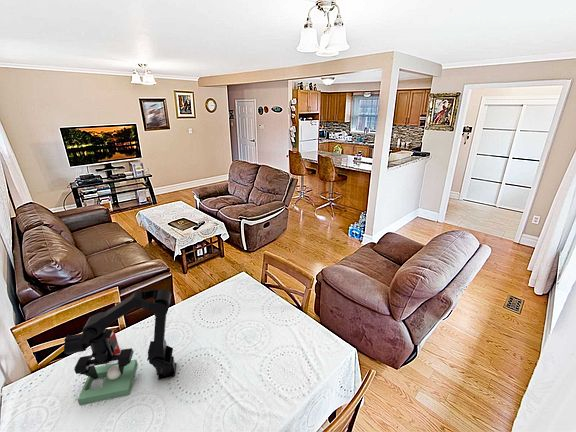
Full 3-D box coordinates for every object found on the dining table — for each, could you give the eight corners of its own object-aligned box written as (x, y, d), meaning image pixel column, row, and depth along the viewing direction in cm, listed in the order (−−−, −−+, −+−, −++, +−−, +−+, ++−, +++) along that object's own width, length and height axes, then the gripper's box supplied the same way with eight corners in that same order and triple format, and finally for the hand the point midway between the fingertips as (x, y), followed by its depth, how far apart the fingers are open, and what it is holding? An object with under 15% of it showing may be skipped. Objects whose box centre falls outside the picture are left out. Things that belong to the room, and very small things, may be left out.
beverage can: (113, 362, 123) (106, 341, 119) (101, 359, 124) (94, 339, 120) (123, 350, 129) (117, 330, 124) (112, 348, 130) (105, 328, 126)
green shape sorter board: (137, 364, 122) (136, 359, 121) (129, 394, 110) (127, 389, 109) (93, 373, 118) (91, 367, 117) (79, 405, 106) (77, 399, 105)
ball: (126, 366, 116) (116, 360, 114) (122, 376, 111) (112, 371, 109) (116, 373, 116) (106, 367, 114) (112, 384, 112) (102, 378, 109)
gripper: (132, 326, 116) (139, 354, 122) (81, 335, 112) (91, 363, 118) (125, 347, 106) (133, 377, 112) (68, 358, 102) (80, 388, 108)
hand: (109, 375), depth 113 cm, fingers open, 9 cm apart
